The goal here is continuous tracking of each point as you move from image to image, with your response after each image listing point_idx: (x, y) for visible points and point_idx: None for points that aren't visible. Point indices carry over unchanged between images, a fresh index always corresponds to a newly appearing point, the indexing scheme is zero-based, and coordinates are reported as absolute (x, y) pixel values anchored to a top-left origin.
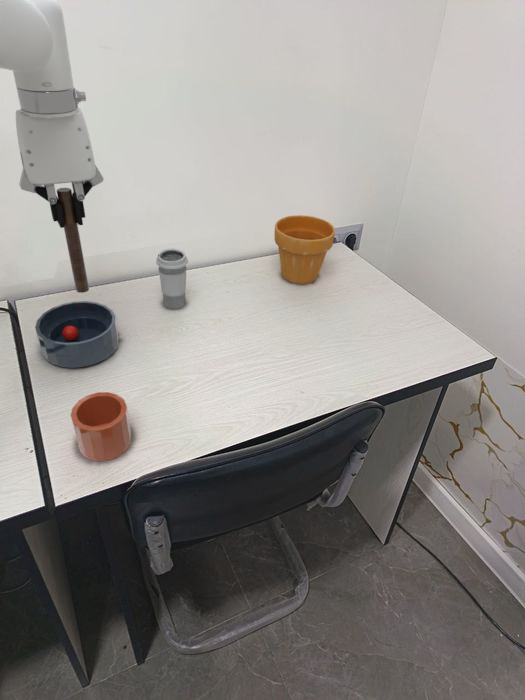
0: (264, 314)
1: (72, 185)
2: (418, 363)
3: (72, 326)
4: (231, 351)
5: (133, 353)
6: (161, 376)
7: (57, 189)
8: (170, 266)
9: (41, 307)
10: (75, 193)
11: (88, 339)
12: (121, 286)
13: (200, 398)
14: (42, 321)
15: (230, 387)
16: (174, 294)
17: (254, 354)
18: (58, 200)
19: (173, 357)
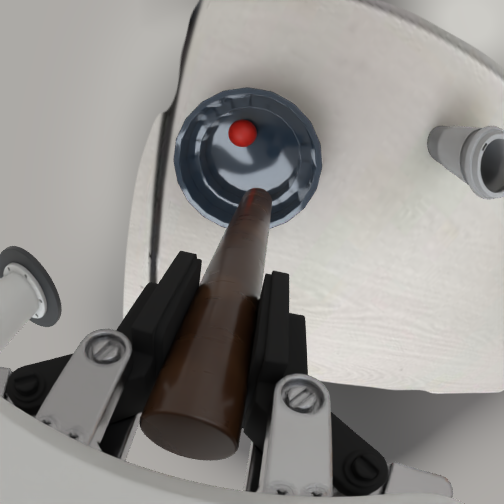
0: (494, 257)
1: (264, 450)
2: (482, 380)
3: (247, 133)
4: (413, 292)
5: (313, 217)
6: (314, 281)
7: (145, 420)
8: (476, 188)
9: (239, 8)
10: (261, 434)
11: (268, 149)
12: (398, 31)
13: (325, 332)
14: (195, 118)
15: (361, 336)
16: (447, 169)
17: (424, 311)
18: (160, 367)
19: (352, 260)
